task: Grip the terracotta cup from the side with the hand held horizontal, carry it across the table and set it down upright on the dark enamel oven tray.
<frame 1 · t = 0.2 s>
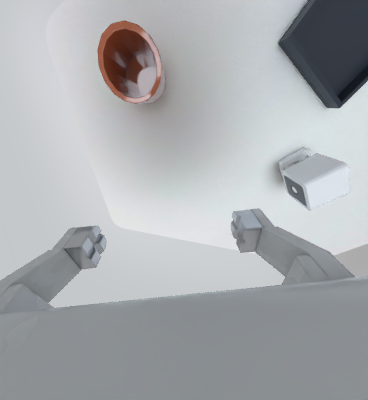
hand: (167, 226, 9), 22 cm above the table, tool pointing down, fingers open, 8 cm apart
cup: (144, 79, 23), on the table
security camera: (289, 166, 32), on the table
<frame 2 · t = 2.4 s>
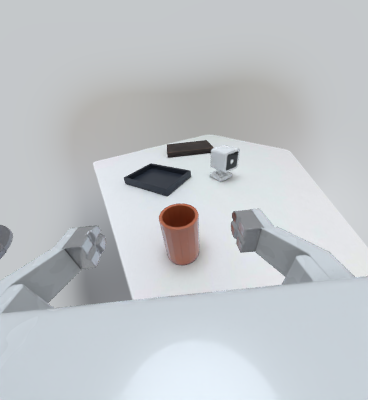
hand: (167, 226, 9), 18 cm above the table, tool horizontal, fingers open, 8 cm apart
cup: (183, 250, 29), on the table
hardcover book: (189, 150, 80), on the table
security camera: (222, 177, 52), on the table
oven tray: (158, 180, 54), on the table
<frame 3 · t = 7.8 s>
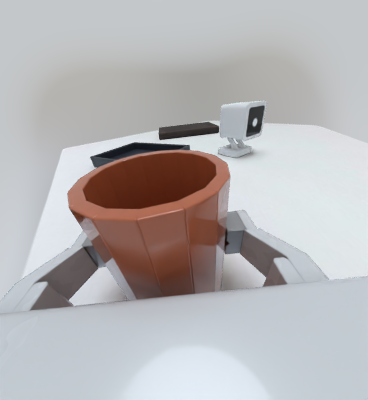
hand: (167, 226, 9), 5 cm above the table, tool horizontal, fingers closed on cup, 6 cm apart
cup: (177, 282, 11), on the table, touching gripper
hardcover book: (186, 133, 64), on the table
security camera: (236, 154, 35), on the table
oven tray: (142, 160, 37), on the table
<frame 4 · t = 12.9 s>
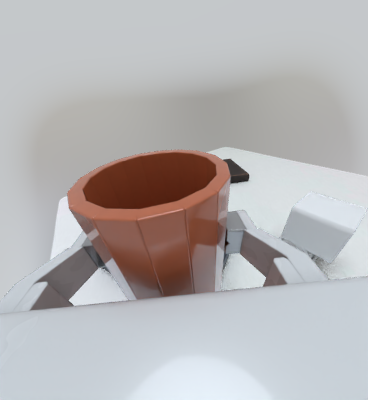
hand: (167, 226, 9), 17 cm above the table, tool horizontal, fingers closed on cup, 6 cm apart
cup: (177, 283, 11), point 12 cm above the table, touching gripper
hardcover book: (207, 176, 54), on the table
security camera: (300, 253, 25), on the table
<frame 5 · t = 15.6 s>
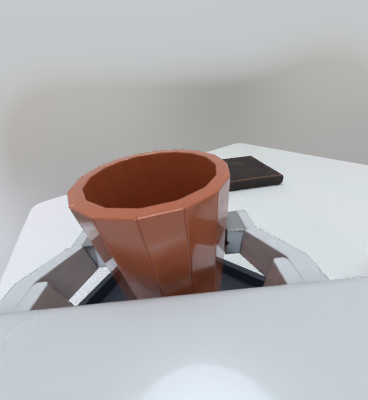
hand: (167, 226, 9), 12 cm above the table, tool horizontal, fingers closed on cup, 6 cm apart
cup: (177, 282, 11), point 8 cm above the table, touching gripper
hardcover book: (223, 177, 42), on the table
oven tray: (183, 320, 15), on the table
when the fingers open (6 cm above the table, at t = 18.0 s): cup stays where it is, resting on oven tray.
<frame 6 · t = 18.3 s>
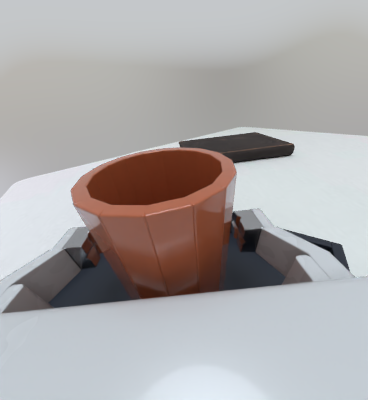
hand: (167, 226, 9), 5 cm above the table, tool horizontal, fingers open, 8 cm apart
cup: (179, 282, 11), point 1 cm above the table, touching oven tray
hardcover book: (226, 153, 38), on the table
oven tray: (178, 286, 11), on the table
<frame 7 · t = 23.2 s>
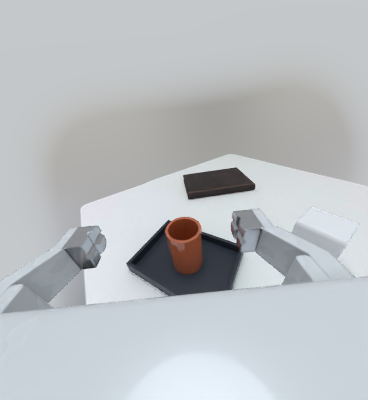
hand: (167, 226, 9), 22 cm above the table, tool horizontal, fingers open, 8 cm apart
cup: (187, 260, 31), point 1 cm above the table, touching oven tray
hardcover book: (215, 184, 58), on the table
security camera: (302, 259, 29), on the table
oven tray: (186, 261, 31), on the table
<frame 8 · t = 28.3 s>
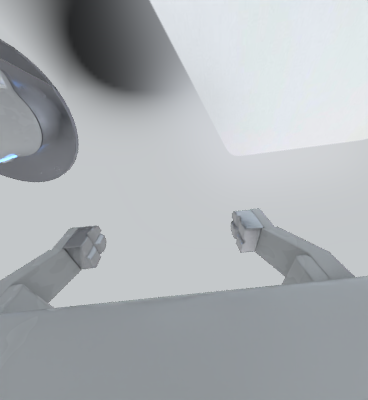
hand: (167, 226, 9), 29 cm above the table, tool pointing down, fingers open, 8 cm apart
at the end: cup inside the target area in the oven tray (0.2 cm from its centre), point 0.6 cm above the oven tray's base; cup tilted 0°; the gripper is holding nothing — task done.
